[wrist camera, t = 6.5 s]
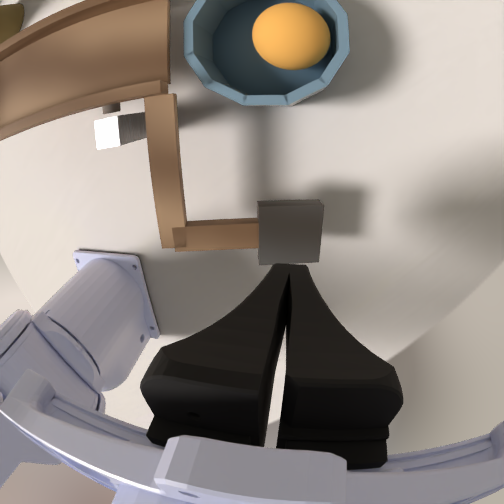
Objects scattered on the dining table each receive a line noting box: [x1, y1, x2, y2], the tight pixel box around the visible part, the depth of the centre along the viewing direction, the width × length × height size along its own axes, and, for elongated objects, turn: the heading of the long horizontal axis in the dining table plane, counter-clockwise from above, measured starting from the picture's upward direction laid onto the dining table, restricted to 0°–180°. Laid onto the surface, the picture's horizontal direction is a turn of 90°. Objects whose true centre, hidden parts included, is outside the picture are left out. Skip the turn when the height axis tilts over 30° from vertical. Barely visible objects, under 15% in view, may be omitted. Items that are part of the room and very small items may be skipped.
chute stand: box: [94, 112, 147, 149], centre depth 13 cm, size 11×2×6 cm, turn 1°
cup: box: [184, 0, 350, 106], centre depth 12 cm, size 8×8×4 cm
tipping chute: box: [0, 0, 324, 265], centre depth 12 cm, size 16×23×3 cm
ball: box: [252, 3, 330, 70], centre depth 11 cm, size 4×4×4 cm
